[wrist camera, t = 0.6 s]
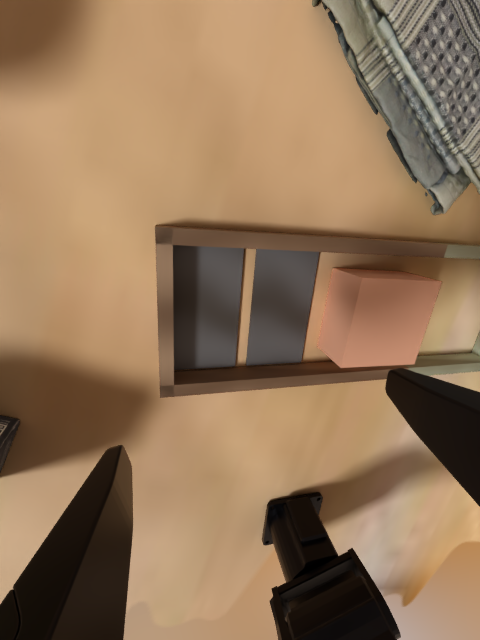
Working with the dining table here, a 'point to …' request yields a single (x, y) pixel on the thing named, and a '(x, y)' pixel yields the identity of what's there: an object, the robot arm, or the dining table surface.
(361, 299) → the block
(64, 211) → the dining table surface
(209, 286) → the channel
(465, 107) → the dish towel
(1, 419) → the small box
